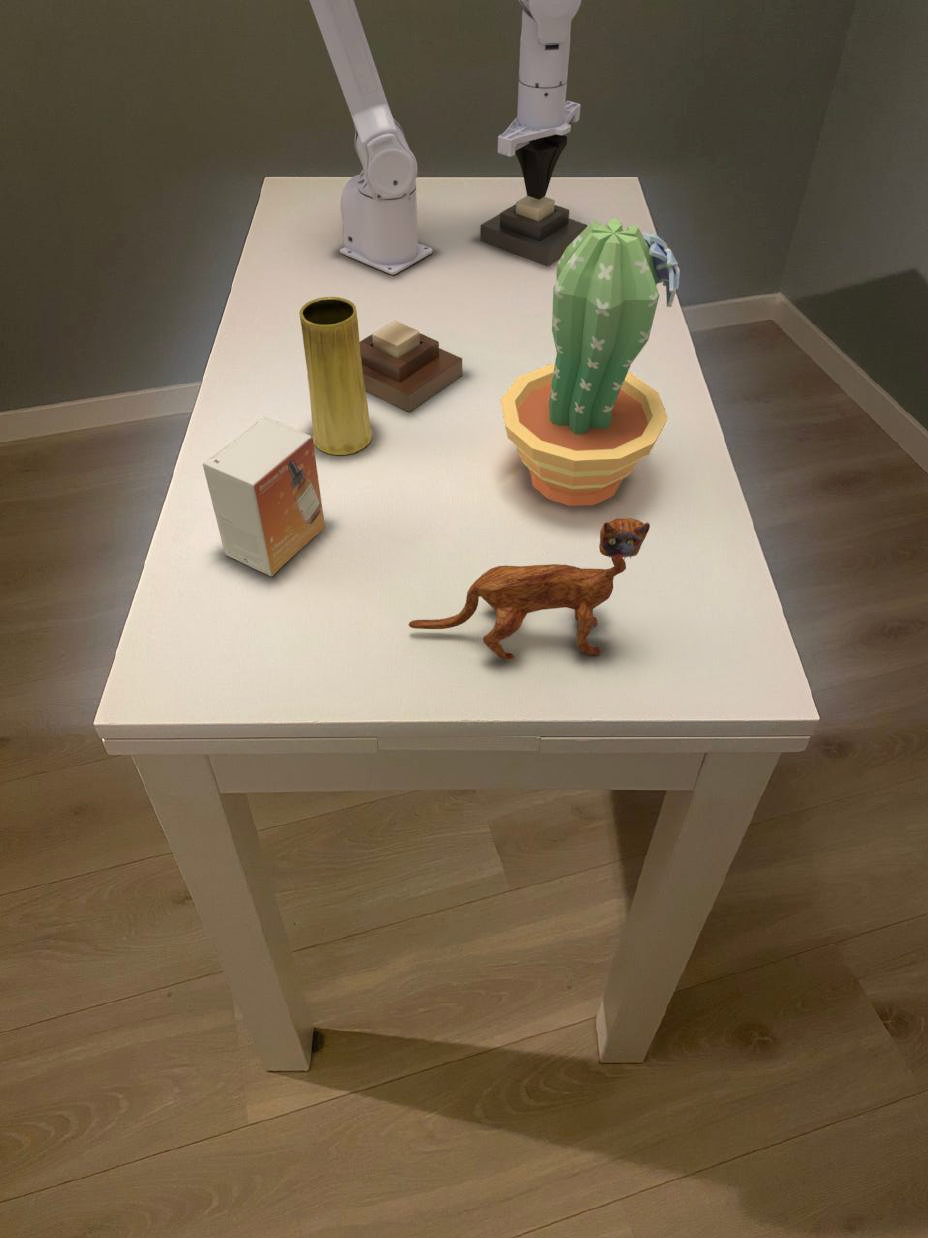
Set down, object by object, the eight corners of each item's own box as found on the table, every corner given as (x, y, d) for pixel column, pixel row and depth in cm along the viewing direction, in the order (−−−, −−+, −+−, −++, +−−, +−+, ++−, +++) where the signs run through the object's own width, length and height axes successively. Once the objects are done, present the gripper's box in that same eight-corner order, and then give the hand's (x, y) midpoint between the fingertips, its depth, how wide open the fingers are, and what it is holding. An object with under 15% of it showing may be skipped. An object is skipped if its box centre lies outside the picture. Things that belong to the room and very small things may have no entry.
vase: (383, 428, 97) (373, 302, 86) (354, 462, 93) (340, 334, 82) (332, 414, 98) (316, 288, 88) (301, 446, 95) (281, 319, 84)
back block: (479, 240, 124) (480, 211, 121) (520, 217, 129) (521, 187, 126) (547, 266, 120) (549, 236, 117) (586, 240, 125) (589, 211, 122)
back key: (515, 215, 122) (516, 201, 120) (531, 205, 124) (532, 192, 122) (537, 223, 120) (538, 209, 119) (553, 213, 122) (555, 199, 121)
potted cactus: (650, 538, 86) (703, 285, 67) (484, 518, 88) (491, 265, 69) (657, 437, 96) (705, 192, 77) (509, 420, 98) (521, 177, 79)
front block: (334, 375, 103) (330, 343, 100) (388, 341, 108) (386, 309, 105) (409, 413, 99) (407, 380, 96) (462, 375, 103) (462, 343, 100)
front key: (373, 348, 100) (371, 333, 99) (395, 334, 102) (394, 319, 101) (398, 360, 99) (397, 345, 98) (420, 345, 101) (419, 331, 100)
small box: (271, 579, 82) (252, 487, 74) (223, 555, 84) (199, 463, 76) (327, 527, 87) (314, 434, 79) (280, 505, 89) (263, 413, 81)
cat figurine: (406, 664, 76) (398, 541, 66) (411, 605, 80) (403, 481, 70) (628, 668, 76) (654, 545, 65) (620, 608, 80) (644, 484, 70)
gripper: (534, 105, 104) (527, 224, 115) (605, 70, 112) (593, 185, 122) (484, 91, 107) (482, 208, 118) (557, 57, 115) (549, 170, 125)
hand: (536, 195), depth 120 cm, fingers closed
